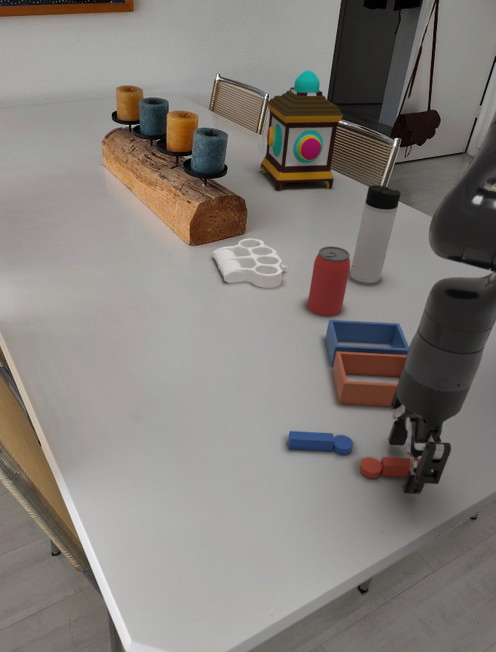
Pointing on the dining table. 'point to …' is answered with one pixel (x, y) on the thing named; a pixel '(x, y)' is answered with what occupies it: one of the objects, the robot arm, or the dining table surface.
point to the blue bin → (365, 337)
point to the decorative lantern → (301, 134)
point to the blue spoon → (319, 442)
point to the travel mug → (374, 234)
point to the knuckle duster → (250, 263)
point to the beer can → (329, 281)
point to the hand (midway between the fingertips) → (402, 466)
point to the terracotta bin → (366, 366)
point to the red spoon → (385, 467)
